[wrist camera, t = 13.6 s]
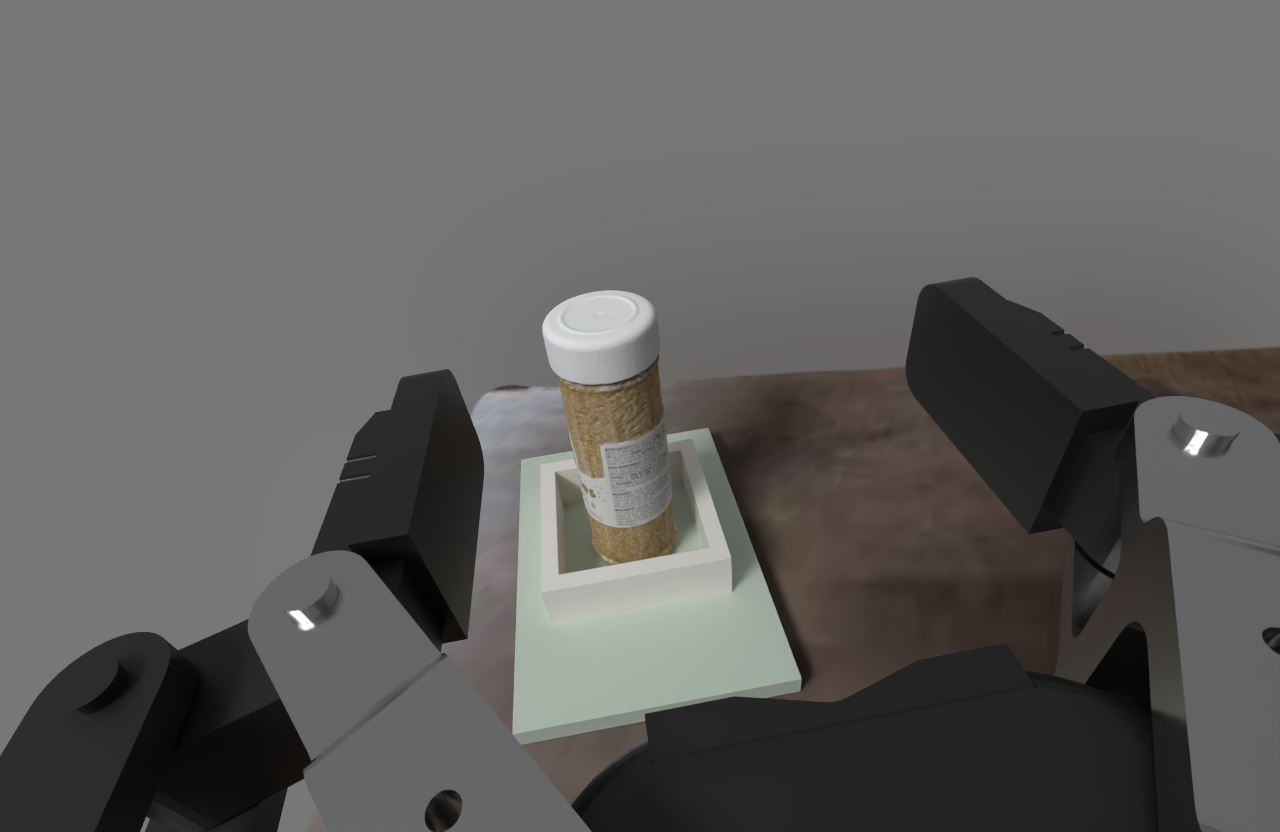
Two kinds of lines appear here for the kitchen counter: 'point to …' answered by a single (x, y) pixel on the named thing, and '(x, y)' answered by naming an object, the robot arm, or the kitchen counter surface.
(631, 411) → the spice jar
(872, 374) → the kitchen counter surface
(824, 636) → the kitchen counter surface
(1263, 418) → the kitchen counter surface
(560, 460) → the socket board
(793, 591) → the kitchen counter surface
